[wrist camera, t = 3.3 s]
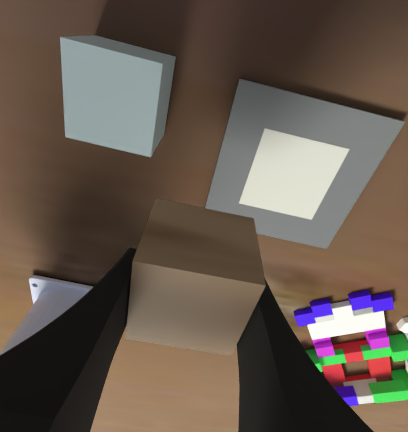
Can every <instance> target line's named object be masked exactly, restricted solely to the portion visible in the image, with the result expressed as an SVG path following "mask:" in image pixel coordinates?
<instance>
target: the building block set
mask: <svg viewBox="0 0 408 432" xmlns="http://www.w3.org/2000/svg"><path fill="white" fill-rule="evenodd" d="M348 297H349V300H348V301H343V302H338V303H333V304H330V302H329V299H328V298H327V299H322V300H318V301H313V302H310V305H311V308H312V309H311V308H308V309H303V310H298V311H294V316H295V318H296V321H297V324H298V326H304V325H307V326H308V329H309V332H310V335H311V338H312V340H313V343H314V346H315V349H310V350H305V351H306V352H307V354H308V355H309V357H310V358H311V360H312V361H313V362H314V364H315V365H316V366H317V368H318V369H319V370H320V372H324V375H325V378H326V379H327V380H328V382H329V383H330V384H331V385H332V387H333V388H334V389H335V390H336V391H337V393H338V394H339V395H340V396H341V397H342V398H343V400H344V401H345V402H346V403H347V404H348V405H349V406H354V405H359V404H364V403H373V402H374V403H382V402H392V401H401V400H408V317H405V318H402V319H401V320H400V321H399V322H398V323H397V324H396V325H397V327H398V329H399V330H400V331H402V332H403V334H397V335H391V336H388V335H387V333H386V326H385V318H384V311H385V310H391V309H394V308H393V297H392V295H391V294H390V292H387V293H382V294H377V295H373V296H371V295H370V293H369V291H368V290H366V291H361V292H356V293H351V294H348ZM312 311H313V312H312ZM313 314H314V315H313ZM363 331H365V335H366V340H360V341H354V342H348V343H342V344H336V345H332V342H331V338H330V337H334V336H339V335H345V334H351V333H357V332H363ZM390 356H391V357H392V359H393V361H394V362H396V361H403V360H405V366H406V369H399V370H391V364H390ZM361 360H367V363H368V368H369V374H361V375H354V376H346V377H345V376H344V372H343V368H342V365H341V363H346V362H347V363H348V362H355V361H361Z"/></svg>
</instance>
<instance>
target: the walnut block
mask: <svg viewBox="0 0 408 432" xmlns="http://www.w3.org/2000/svg"><path fill="white" fill-rule="evenodd" d="M265 286H266V284H265V278H264V273H263V267H262V261H261V256H260V250H259V244H258V239H257V233H256V227H255V222H254V218H251V217H246V216H241V215H236V214H231V213H226V212H221V211H216V210H211V209H206V208H201V207H196V206H192V205H187V204H182V203H177V202H172V201H167V200H162V199H157V198H156V199H155V202H154V204H153V207H152V210H151V212H150V215H149V218H148V221H147V223H146V226H145V229H144V232H143V234H142V237H141V240H140V242H139V245H138V248H137V251H136V253H135V256H134V259H133V263H132V273H131V284H130V295H129V306H128V317H127V328H126V339H130V340H136V341H142V342H148V343H154V344H161V345H167V346H173V347H179V348H185V349H191V350H198V351H204V352H210V353H216V354H222V355H229V356H231V355H232V353H233V351H234V349H235V347H236V345H237V343H238V341H239V339H240V337H241V335H242V333H243V331H244V329H245V327H246V325H247V323H248V321H249V319H250V317H251V315H252V313H253V311H254V309H255V306H256V304H257V302H258V300H259V298H260V296H261V294H262V292H263V290H264V288H265Z"/></svg>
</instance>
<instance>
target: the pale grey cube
mask: <svg viewBox="0 0 408 432" xmlns="http://www.w3.org/2000/svg"><path fill="white" fill-rule="evenodd" d="M60 44H61V63H62V83H63V102H64V121H65V137H67V138H71V139H76V140H80V141H84V142H88V143H92V144H97V145H101V146H105V147H109V148H113V149H118V150H122V151H126V152H130V153H134V154H139V155H143V156H147V157H151V156H152V155H153V153H154V151H155V149H156V148H157V146H158V144H159V143H160V141H161V139H162V137H163V136H164V132H165V126H166V119H167V112H168V106H169V99H170V92H171V86H172V79H173V72H174V65H175V59H176V57H175V56H171V55H168V54H164V53H160V52H156V51H153V50H149V49H145V48H141V47H138V46H134V45H130V44H126V43H122V42H119V41H115V40H111V39H107V38H104V37H100V36H96V35H89V36H69V37H60Z"/></svg>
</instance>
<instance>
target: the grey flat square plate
mask: <svg viewBox="0 0 408 432" xmlns="http://www.w3.org/2000/svg"><path fill="white" fill-rule="evenodd" d="M404 123H405V122H404V121H402V120H399V119H395V118H391V117H387V116H383V115H380V114H376V113H372V112H368V111H364V110H360V109H356V108H353V107H349V106H345V105H341V104H337V103H333V102H329V101H326V100H322V99H318V98H314V97H310V96H306V95H302V94H298V93H295V92H291V91H287V90H283V89H279V88H275V87H271V86H268V85H264V84H260V83H256V82H252V81H248V80H244V79H241V78H239V82H238V85H237V89H236V93H235V97H234V100H233V104H232V108H231V111H230V115H229V119H228V123H227V126H226V130H225V134H224V138H223V141H222V145H221V149H220V153H219V156H218V160H217V164H216V168H215V171H214V175H213V179H212V182H211V186H210V190H209V194H208V197H207V201H206V205H205V208H206V209H211V210H216V211H221V212H226V213H231V214H236V215H241V216H246V217H251V218H254V222H255V227H256V233H257V234H261V235H266V236H270V237H275V238H279V239H284V240H289V241H293V242H298V243H302V244H307V245H311V246H316V247H320V248H325V249H327V247H328V246H329V244H330V242H331V241H332V239H333V238H334V236H335V234H336V233H337V231H338V229H339V228H340V226H341V225H342V223H343V221H344V220H345V218H346V217H347V215H348V213H349V212H350V210H351V208H352V207H353V205H354V204H355V202H356V200H357V199H358V197H359V196H360V194H361V192H362V191H363V189H364V188H365V186H366V184H367V183H368V181H369V179H370V178H371V176H372V175H373V173H374V171H375V170H376V168H377V167H378V165H379V163H380V162H381V160H382V158H383V157H384V155H385V154H386V152H387V150H388V149H389V147H390V146H391V144H392V142H393V141H394V139H395V138H396V136H397V134H398V133H399V131H400V129H401V128H402V126H403V125H404Z"/></svg>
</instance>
